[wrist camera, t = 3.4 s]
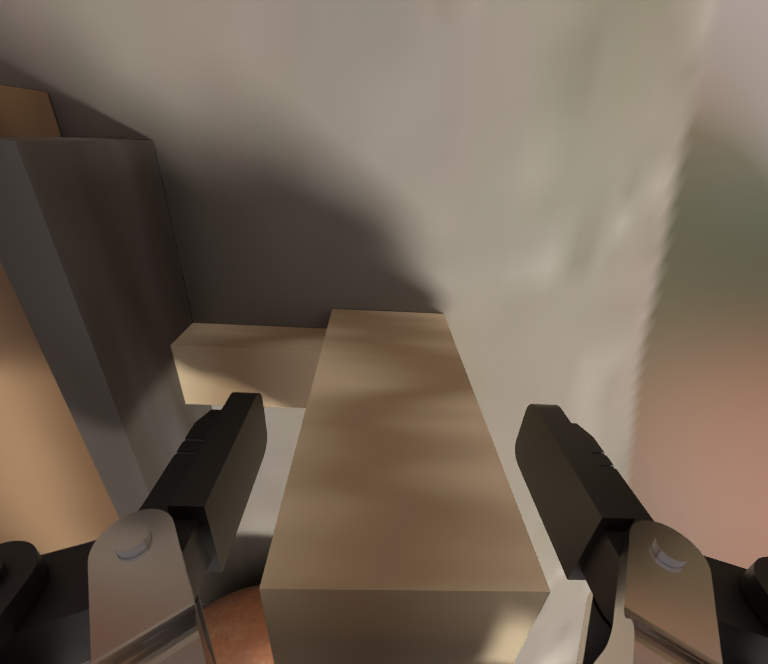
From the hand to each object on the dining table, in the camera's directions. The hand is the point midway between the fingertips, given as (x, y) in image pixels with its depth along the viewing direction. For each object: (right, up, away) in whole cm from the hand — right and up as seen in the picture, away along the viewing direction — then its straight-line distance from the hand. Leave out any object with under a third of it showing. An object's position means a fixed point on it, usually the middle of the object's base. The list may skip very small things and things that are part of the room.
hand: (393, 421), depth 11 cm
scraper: (-3, +2, +3) cm, 5 cm away
